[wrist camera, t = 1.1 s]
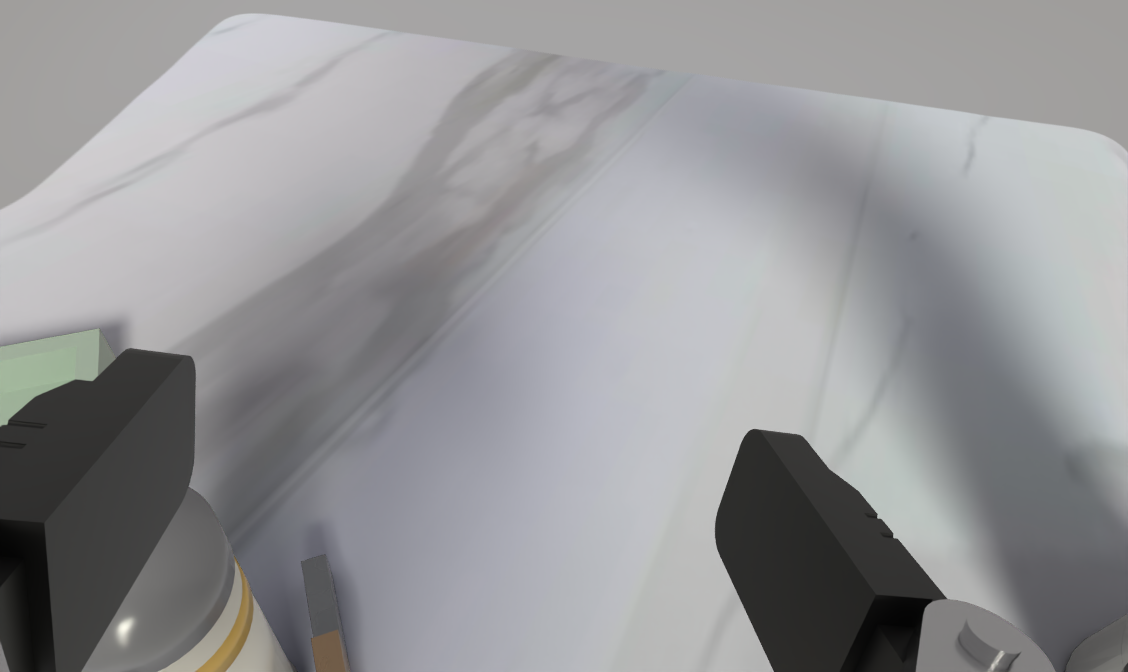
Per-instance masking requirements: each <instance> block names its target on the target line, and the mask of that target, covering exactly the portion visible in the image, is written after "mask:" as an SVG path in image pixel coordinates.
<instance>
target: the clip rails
mask: <svg viewBox="0 0 1128 672" xmlns="http://www.w3.org/2000/svg"><path fill="white" fill-rule="evenodd" d="M301 564H302V570H303V576H304V582H305V588H306V595H307V601H308V607H309V613H310V619H311V625H312V632H313V638H311V642H312V648H313V654H314V661H315V667H316V672H350V667H349V661H348V656H347V651H346V646H345V640H344V635H343V630H342V624H341V619H340V614H339V609H338V603H337V598H336V593H335V587H334V582H333V577H332V573H331V570H330V567H329V564H328V561H327V558H326V555H325V554H324V555H321V556H318V557H314V558H311V559H308V560H304V561H301Z"/></svg>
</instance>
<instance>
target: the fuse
mask: <svg viewBox="0 0 1128 672" xmlns="http://www.w3.org/2000/svg"><path fill="white" fill-rule="evenodd" d="M81 672H297V670H296V668H295V667H294V665H293V664H292V663H291V662H290V661H289V660H288V659H287V657H286V655H285V653H284V652H283V650H282V648H281V646H280V644H279V642H278V640H277V638H276V637H275V635H274V633H273V631H272V629H271V627H270V625H269V623H268V622H267V620H266V618H265V616H264V614H263V612H262V610H261V608H260V607H259V605H258V603H257V601H256V599H255V597H254V595H253V593H252V590H251V588H250V585H249V582H248V580H247V578H246V576H245V574H244V573H243V571H242V569H241V567H240V565H239V563H238V561H237V560H236V558H235V556H234V554H233V550H232V547H231V544H230V542H229V540H228V538H227V536H226V534H225V532H224V530H223V528H222V526H221V525H220V523H219V521H218V519H217V517H216V515H215V513H214V511H213V510H212V508H211V506H210V505H209V504H208V502H207V501H206V500H205V499H204V498H203V497H202V496H201V495H200V494H199V493H197V492H196V491H194V490H193V489H191V488H189V487H188V490H187V492H186V495H185V497H184V500H183V501H182V503H181V505H180V507H179V508H178V510H177V512H176V514H175V515H174V517H173V519H172V520H171V522H170V524H169V525H168V527H167V529H166V530H165V532H164V534H163V535H162V537H161V539H160V540H159V542H158V544H157V545H156V547H155V549H154V550H153V552H152V554H151V555H150V557H149V559H148V561H147V562H146V564H145V566H144V567H143V569H142V571H141V572H140V574H139V576H138V577H137V579H136V581H135V582H134V584H133V586H132V587H131V589H130V591H129V592H128V594H127V596H126V597H125V599H124V601H123V603H122V604H121V606H120V608H119V609H118V611H117V613H116V614H115V616H114V618H113V619H112V621H111V623H110V624H109V626H108V628H107V629H106V631H105V633H104V634H103V636H102V638H101V639H100V641H99V643H98V644H97V646H96V648H95V650H94V651H93V653H92V655H91V656H90V658H89V660H88V661H87V663H86V665H85V666H84V668H83V670H82V671H81Z"/></svg>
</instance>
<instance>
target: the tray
mask: <svg viewBox="0 0 1128 672" xmlns="http://www.w3.org/2000/svg"><path fill="white" fill-rule="evenodd" d="M115 359H116V357H115V356H114V354H113V352H112V350H111V348H110V346H109V345H108V343H107V341H106V339H105V337H104V336H103V334H102V332H101V330H100V328H99V329H94V330H88V331H83V332H78V333H72V334H67V335H61V336H56V337H51V338H45V339H40V340H34V341H29V342H24V343H18V344H13V345H7V346H2V347H0V427H1V426H2V425H7V424H8V420H9V419H10V418H11V417H12V416H13V415H14V414H16V413H17V412H18V411H19V410H20V409H21V408H23V407H24V406H25V405H26V404H27V403H28V402H29V401H31V400H32V399H33V398H34V397H35V396H38V395H40V394H42V393H45V392H47V391H49V390H52V389H54V388H56V387H59V386H61V385H63V384H66V383H68V382H70V381H73V380H75V379H78V380H86V381H93V380H94V379H95V378H96V377H97V376H98V375H100V374H101V373H102V372H103V371H104V370H105V369H106V368H107V367H108V366H109V365H110V364H111V363H112V362H113V361H114V360H115Z"/></svg>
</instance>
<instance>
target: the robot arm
mask: <svg viewBox="0 0 1128 672" xmlns="http://www.w3.org/2000/svg"><path fill="white" fill-rule="evenodd" d="M195 382H196V373H195V364H194V361H193V359H192V357H190V356H187V355H179V354H171V353H163V352H155V351H147V350H139V349H131V348H129V349H126V350H125V351H124V352H122V353H121V354H120V355H119V356H118V357H117V358H116V359H115V360H114V361H113V362H112V363H111V364H110V365H109V366H108V367H107V368H106V369H105V370H104V371H103V372H102V373H101V374H100V375H98V376H97V377H96V378H95V379H94V380H93V381H86V380H78V379H75V380H73V381H70V382H68V383H66V384H63V385H61V386H59V387H56V388H54V389H52V390H49V391H47V392H45V393H42V394H40V395H38V396H35V397H34V398H33V399H32V400H31V401H29V402H28V403H27V404H26V405H25V406H24V407H23V408H21V409H20V410H19V411H18V412H17V413H16V414H14V415H13V416H12V417H11V418H10V419H9V420H8V424H7V425H2V426H1V427H0V672H81V671H82V670H83V668H84V666H85V665H86V663H87V661H88V660H89V658H90V656H91V655H92V653H93V651H94V650H95V648H96V646H97V644H98V643H99V641H100V639H101V638H102V636H103V634H104V633H105V631H106V629H107V628H108V626H109V624H110V623H111V621H112V619H113V618H114V616H115V614H116V613H117V611H118V609H119V608H120V606H121V604H122V603H123V601H124V599H125V597H126V596H127V594H128V592H129V591H130V589H131V587H132V586H133V584H134V582H135V581H136V579H137V577H138V576H139V574H140V572H141V571H142V569H143V567H144V566H145V564H146V562H147V561H148V559H149V557H150V555H151V554H152V552H153V550H154V549H155V547H156V545H157V544H158V542H159V540H160V539H161V537H162V535H163V534H164V532H165V530H166V529H167V527H168V525H169V524H170V522H171V520H172V519H173V517H174V515H175V514H176V512H177V510H178V508H179V507H180V505H181V503H182V501H183V500H184V497H185V495H186V492H187V490H188V486H189V483H190V479H191V475H192V470H193V464H194V444H195ZM877 515H878V514H877V513H876V512H875V511H874V509H873V508H872V507H871V506H870V505H869V503H868V502H867V501H866V500H865V499H864V497H863V496H862V495H861V494H860V492H859V491H858V490H856V489H855V488H854V487H852V486H851V485H850V484H848V483H847V482H846V481H844V480H843V479H842V478H840V477H839V476H838V475H836V474H835V473H834V472H832V471H831V470H829V468H828V467H827V466H826V465H825V463H824V462H823V461H822V460H821V458H820V457H819V456H818V455H817V453H816V452H815V451H814V450H813V448H812V447H811V446H810V445H809V443H808V442H807V441H806V440H805V439H804V438H803V437H802V436H801V435H797V434H790V433H782V432H774V431H766V430H758V429H752V430H750V431H749V432H748V433H747V434H746V435H745V437H744V438H743V440H742V443H741V445H740V448H739V451H738V454H737V457H736V460H735V463H734V465H733V468H732V471H731V474H730V477H729V480H728V483H727V486H726V488H725V491H724V494H723V497H722V500H721V503H720V506H719V509H718V512H717V516H716V523H715V539H716V545H717V549H718V552H719V555H720V557H721V559H722V561H723V563H724V565H725V568H726V570H727V572H728V574H729V576H730V578H731V580H732V583H733V585H734V587H735V589H736V591H737V593H738V595H739V598H740V600H741V602H742V604H743V606H744V608H745V610H746V613H747V615H748V617H749V619H750V621H751V623H752V625H753V628H754V630H755V632H756V634H757V636H758V638H759V640H760V643H761V645H762V647H763V649H764V651H765V653H766V655H767V658H768V660H769V662H770V664H771V666H772V668H773V671H774V672H1056V671H1055V669H1054V667H1053V665H1052V663H1051V662H1050V660H1049V659H1048V657H1047V656H1046V654H1045V653H1044V652H1043V651H1042V650H1041V649H1040V647H1039V646H1038V645H1037V644H1036V643H1035V642H1034V641H1033V640H1031V639H1030V638H1029V637H1028V636H1027V635H1026V634H1024V633H1023V632H1022V631H1021V630H1019V629H1018V628H1017V627H1015V626H1014V625H1012V624H1011V623H1009V622H1008V621H1006V620H1004V619H1003V618H1001V617H1000V616H998V615H996V614H994V613H992V612H990V611H988V610H986V609H983V608H981V607H978V606H976V605H973V604H970V603H967V602H962V601H958V600H950V599H947V598H946V597H945V596H944V594H943V593H942V592H941V591H940V590H939V588H938V587H937V586H936V585H935V584H934V582H933V581H932V580H931V579H930V577H929V576H928V575H927V574H926V573H925V571H924V570H923V569H922V568H921V567H920V565H919V564H918V563H917V562H916V560H915V559H914V558H913V557H912V556H911V554H910V553H909V552H908V551H907V550H906V548H905V547H904V546H903V545H902V543H901V542H900V541H899V540H898V539H895V538H893V533H892V531H891V530H890V529H889V528H888V526H887V525H886V524H885V523H884V522H883V520H882V519H877ZM1066 672H1128V614H1126V615H1125V616H1123V617H1121V618H1120V619H1118V620H1116V621H1115V622H1113V623H1112V624H1110V625H1108V626H1107V627H1105V628H1103V629H1102V630H1100V631H1098V632H1097V633H1095V634H1093V635H1092V636H1090V637H1088V638H1087V639H1085V640H1084V641H1083V642H1082V643H1081V644H1080V645H1079V646H1078V647H1077V648H1076V649H1075V650H1074V651H1073V653H1072V655H1071V657H1070V659H1069V662H1068V664H1067V666H1066Z"/></svg>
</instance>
